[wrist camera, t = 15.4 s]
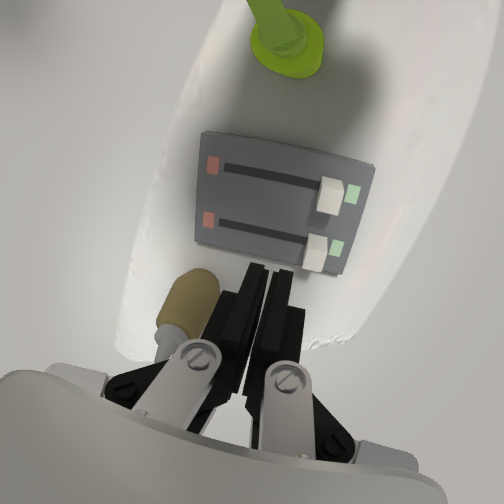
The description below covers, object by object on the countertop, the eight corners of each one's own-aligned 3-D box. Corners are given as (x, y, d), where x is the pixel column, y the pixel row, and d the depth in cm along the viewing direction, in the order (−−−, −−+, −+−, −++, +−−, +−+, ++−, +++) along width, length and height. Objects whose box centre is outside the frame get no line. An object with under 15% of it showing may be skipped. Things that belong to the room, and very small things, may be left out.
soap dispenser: (308, 22, 27) (295, -41, 11) (329, 71, 30) (340, 52, 14) (263, 36, 30) (205, -9, 13) (283, 84, 32) (245, 80, 16)
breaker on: (322, 175, 35) (322, 186, 32) (342, 180, 35) (344, 191, 32) (316, 198, 37) (316, 210, 33) (336, 202, 37) (337, 215, 33)
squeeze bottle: (172, 276, 52) (121, 351, 37) (201, 253, 48) (150, 333, 33) (204, 306, 54) (165, 386, 39) (235, 288, 50) (199, 374, 35)
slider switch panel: (206, 131, 38) (200, 133, 36) (372, 164, 35) (375, 168, 33) (199, 234, 46) (194, 241, 44) (341, 267, 44) (341, 275, 42)
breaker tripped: (309, 233, 39) (307, 248, 36) (327, 237, 39) (327, 252, 36) (304, 252, 41) (301, 268, 38) (321, 256, 41) (321, 272, 37)
